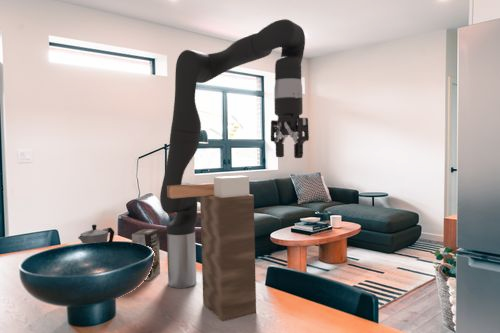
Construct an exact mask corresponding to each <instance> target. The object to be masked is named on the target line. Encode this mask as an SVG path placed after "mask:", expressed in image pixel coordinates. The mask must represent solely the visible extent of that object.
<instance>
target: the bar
mask: <svg viewBox="0 0 500 333" xmlns="http://www.w3.org/2000/svg"><path fill="white" fill-rule="evenodd" d="M207 195H214V182H204V183H203V182H202V183H189V184H185V185H171V186H167V197H169V198H172V199H173V198H184V197H196V196H197V197H200V196H207Z"/></svg>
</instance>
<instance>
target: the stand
mask: <svg viewBox="0 0 500 333" xmlns="http://www.w3.org/2000/svg"><path fill="white" fill-rule="evenodd" d="M254 196H255V195H254V194H250V193H249V195H247V196H236V197H225V198H221V197H217V196H214V195H207V196H199V200H200V201H199V204H200V233H201V235H200V236H201V241H200V242H201V269H202V273H201V274H202V304H203V306H204V307H206V308H207V309H208V310H209V311H210V312H211V313H213V315H215V316H216V317H217V318H218V319H219V320H221V321H222V322H225V321H229V320H233V319H238V318H241V317H245V316H248V315H252V314H256V313H257V293H256V292H257V290H256V288H257V286H256V282H257V280H256V242H255V241H256V239H255V238H256V236H255V235H256V234H255V201H254V200H255V197H254Z"/></svg>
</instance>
